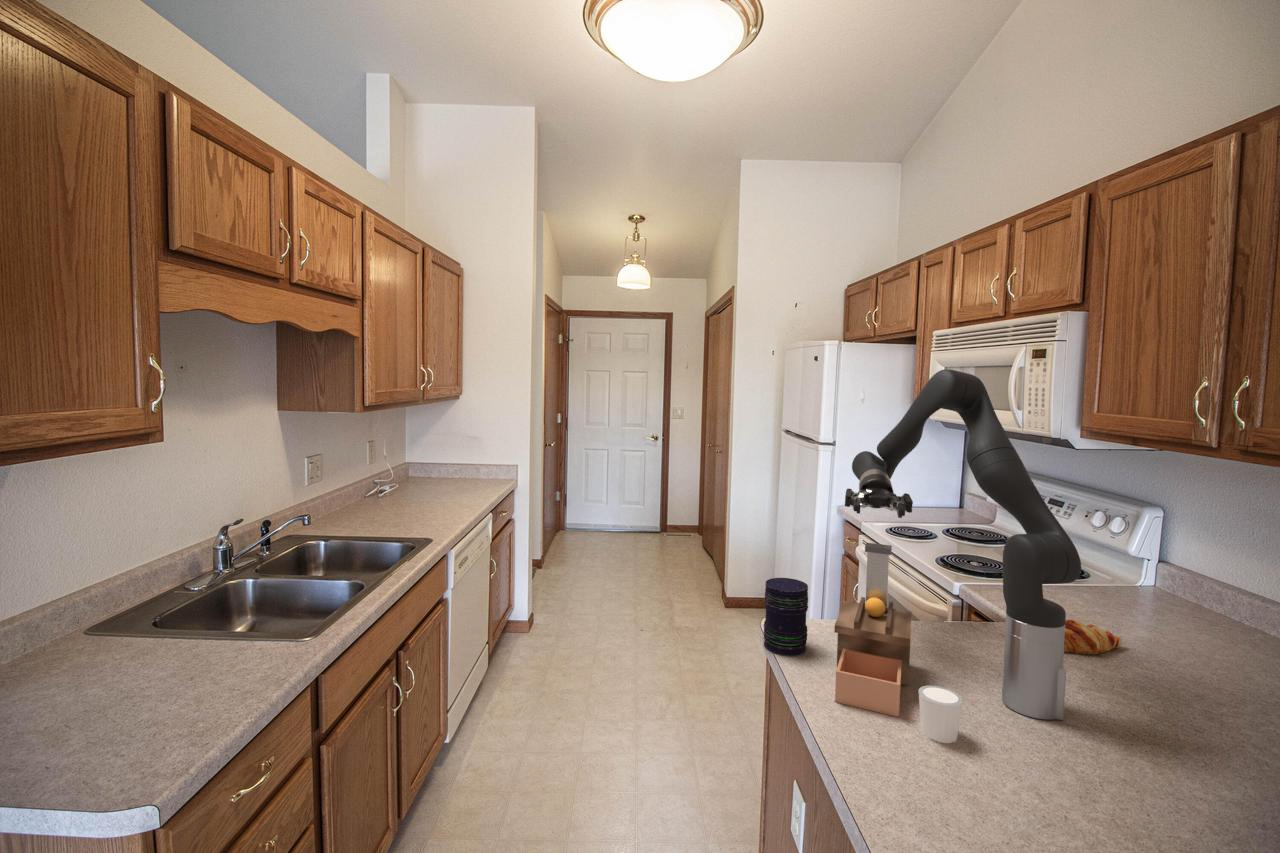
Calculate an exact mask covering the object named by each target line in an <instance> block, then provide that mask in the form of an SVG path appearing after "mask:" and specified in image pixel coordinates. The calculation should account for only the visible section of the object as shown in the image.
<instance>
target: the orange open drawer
mask: <svg viewBox="0 0 1280 853" xmlns="http://www.w3.org/2000/svg"><path fill="white" fill-rule="evenodd" d="M901 669H902V660H899V659H894V658H889V657H883V656H878V655H873V654H868V653H863V652H858V651H853V650H848V649H843V650H842V653H841V657H840V660H839V663H838V666H837V665H836V670H835V689H834V690H835V691H834V692H835V694H834V702H835V703H837V704H838V703H839V704H843V705H847V706H852V707H855V708H860V709H865V710H868V711H872V712H873V711H874V712H876V713H881V714H886V715H889V716H892V717H897V718H899V716H900V706H901V705H900V704H901V692H902V690H901V689H902V684H901Z"/></svg>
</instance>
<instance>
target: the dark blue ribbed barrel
mask: <svg viewBox="0 0 1280 853" xmlns="http://www.w3.org/2000/svg"><path fill="white" fill-rule="evenodd" d="M808 603H809V585H808V584H807V583H806V582H804V581H802V580H799V579H795V578H789V577H772V578H769V579H767V580H765V592H764V607H765V620H764V622H763V639H764V641H763V647H764V648H765V649H766V650H767V651H768V652H770V653H772V654H775V655H778V656H782V657H783V656H784V657H799V656H802V655H804V654H805V653H806V652H807V640H808V625H807V612H808V608H809V604H808Z"/></svg>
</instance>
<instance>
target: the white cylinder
mask: <svg viewBox="0 0 1280 853" xmlns="http://www.w3.org/2000/svg"><path fill="white" fill-rule="evenodd" d="M918 703H919V704H918V705H919V719H920V732H921V733H922V734H923V735H924V736H925V735H926V736H927V738H928V739H929V738H930V739H929V740H931V739H933V740H932V741H934V742H936V741H937V743H942V744H952V742H953V743H956V741H957V740H958V736H959V735H958V734H959V728H960V721H961V715H962V709H963V703H964V701H963V697H961V696H960V695H959V693H957V692H955V691H954V690H952V689H949V688H946V687H943V686H939V685H923V686H920V688H919V689H918ZM926 736H925V737H926Z"/></svg>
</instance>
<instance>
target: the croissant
mask: <svg viewBox="0 0 1280 853" xmlns="http://www.w3.org/2000/svg"><path fill="white" fill-rule="evenodd" d="M1123 642H1124V641H1123V638H1122V637H1121V636H1117V635H1115V634H1114V633H1112V632H1111V631H1108V630H1106V631H1105V630H1103V629H1101V628H1099V627H1098V626H1097V625H1095V624H1091V623H1090V624H1084V623H1083V622H1081V621H1079V620H1074V619H1066V621H1065V637H1064V653H1070V652H1071V654H1076V655H1098V654H1102V653H1104V652H1109V651H1111V650H1113V649H1117V648H1119V647H1121V646H1122V645H1123Z"/></svg>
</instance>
